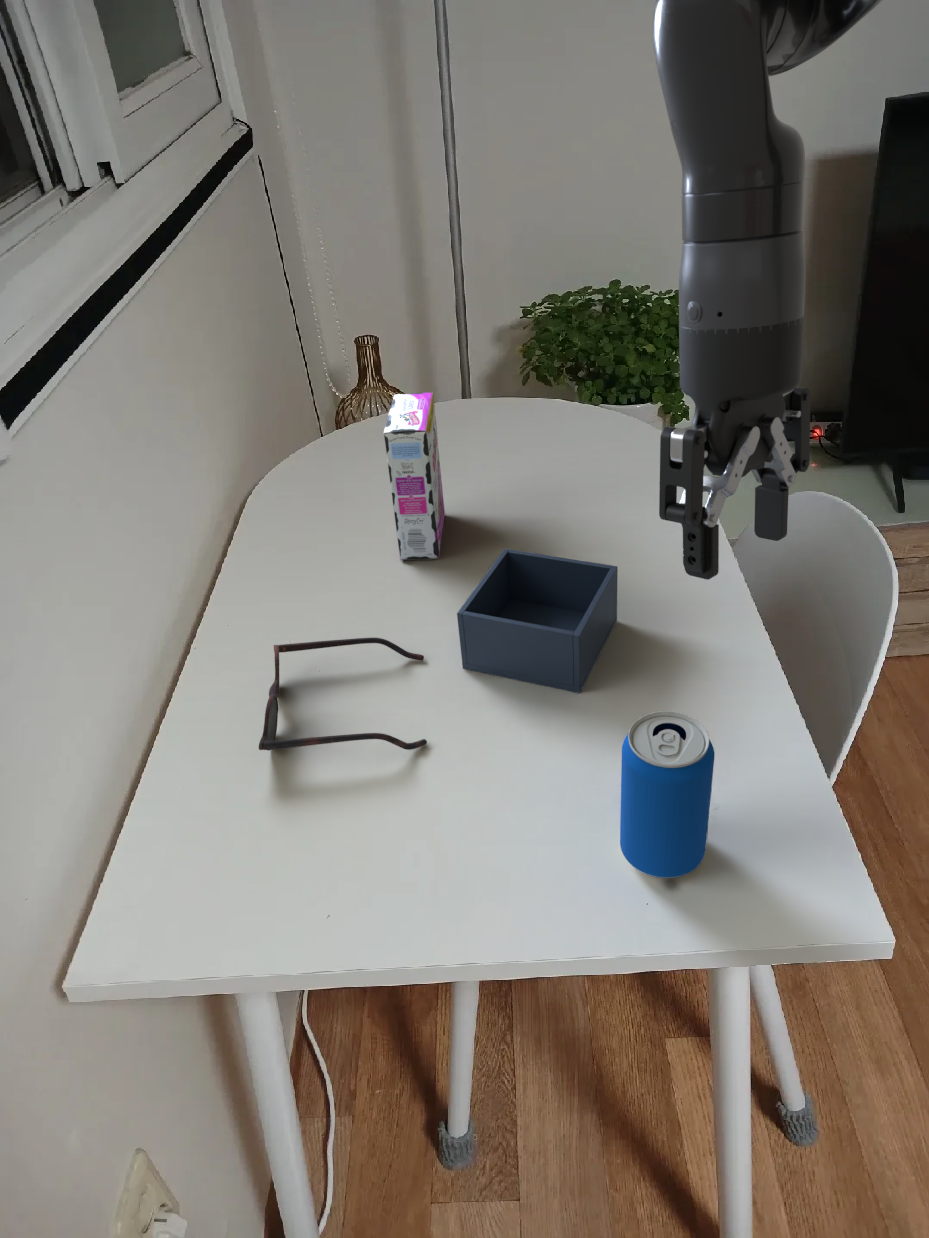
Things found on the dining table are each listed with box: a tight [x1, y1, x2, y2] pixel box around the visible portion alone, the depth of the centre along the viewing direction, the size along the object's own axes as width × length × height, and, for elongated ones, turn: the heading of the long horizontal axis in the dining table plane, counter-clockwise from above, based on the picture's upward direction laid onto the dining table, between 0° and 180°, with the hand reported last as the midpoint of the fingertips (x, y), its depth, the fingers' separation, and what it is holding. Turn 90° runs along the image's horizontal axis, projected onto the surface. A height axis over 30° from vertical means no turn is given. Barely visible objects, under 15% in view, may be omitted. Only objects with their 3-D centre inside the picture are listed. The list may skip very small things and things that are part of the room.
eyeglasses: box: [258, 637, 428, 752], centre depth 90 cm, size 15×15×5 cm
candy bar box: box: [383, 392, 446, 561], centre depth 111 cm, size 11×5×16 cm, turn 178°
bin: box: [456, 548, 619, 694], centre depth 95 cm, size 12×12×7 cm
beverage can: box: [619, 710, 715, 879], centre depth 71 cm, size 6×6×12 cm
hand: (737, 556), depth 66 cm, fingers open, 8 cm apart
